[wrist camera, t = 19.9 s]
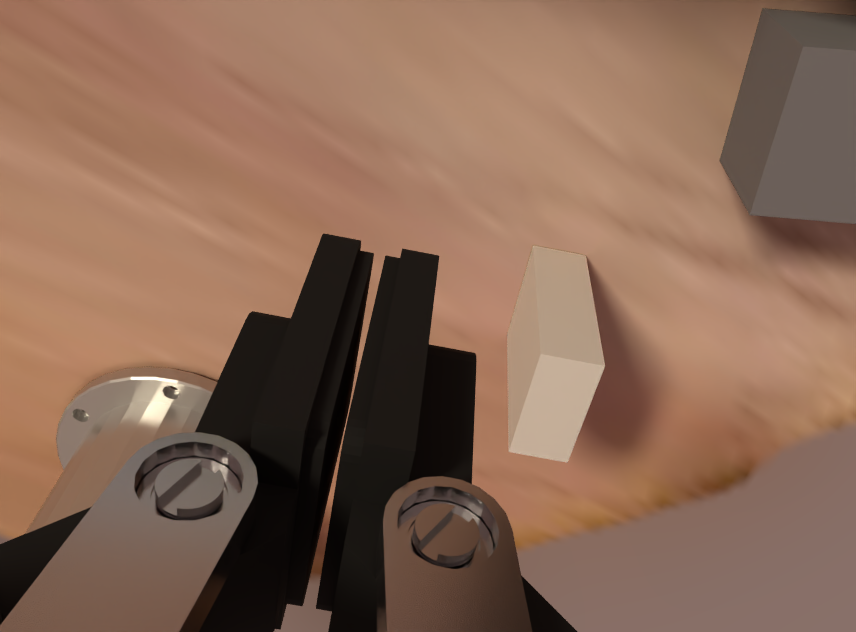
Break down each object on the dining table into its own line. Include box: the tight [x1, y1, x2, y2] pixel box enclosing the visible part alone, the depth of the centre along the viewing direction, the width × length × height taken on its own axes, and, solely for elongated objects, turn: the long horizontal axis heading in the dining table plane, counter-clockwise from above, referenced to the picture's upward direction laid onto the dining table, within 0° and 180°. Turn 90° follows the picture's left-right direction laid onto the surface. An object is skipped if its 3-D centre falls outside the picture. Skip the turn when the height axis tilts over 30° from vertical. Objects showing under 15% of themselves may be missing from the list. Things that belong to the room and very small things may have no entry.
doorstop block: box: [720, 8, 856, 224], centre depth 29 cm, size 6×7×5 cm
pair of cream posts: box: [507, 245, 605, 463], centre depth 28 cm, size 27×3×8 cm, turn 170°
